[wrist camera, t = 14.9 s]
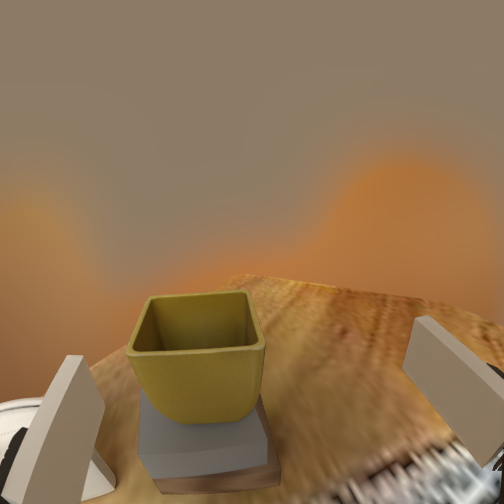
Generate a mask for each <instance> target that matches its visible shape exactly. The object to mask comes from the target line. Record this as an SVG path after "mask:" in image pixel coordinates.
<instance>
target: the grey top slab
mask: <svg viewBox="0 0 504 504" xmlns="http://www.w3.org/2000/svg"><path fill="white" fill-rule="evenodd" d="M267 446H268V439H267V437H266V434H265V432H264V429H263V427H262V424H261V421H260V419H259V416H258V414H257V411H256V408H255V406H254V408H253V409H252V411H251V412H250V413H249V414H248V415H247V416H246V417H244V418H243V419H241V420H240V421H237V422H227V423H210V424H190V425H184V424H180V423H178V422H175V421H173V420H171V419H169V418H167V417H166V416H164V415H163V414H161V413H160V412H159V411H158V410H157V409H156V408H155V407H154V406H153V405H152V403H151V402H150V401H149V399H148V397H147V396H146V394H145V392H144V390H143V388H142V386H141V399H140V417H139V445H138V456H139V457H140V459H141V461H142V463H143V465H144V466H145V468H146V470H147V471H148V473H149V475H150V476H151V478H152V479H161V478H178V477H190V476H200V475H208V474H216V473H223V472H229V471H235V470H241V469H246V468H252V467H256V466H261V465H266V464H267Z"/></svg>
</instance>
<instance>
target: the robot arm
mask: <svg viewBox="0 0 504 504" xmlns="http://www.w3.org/2000/svg"><path fill="white" fill-rule="evenodd" d="M402 370H403V371H404V372H405V373H406V375H407V376H408V377H409V378H410V379H411V381H412V382H413V383H414V384H415V385H416V387H417V388H418V389H419V390H420V391H421V393H422V394H423V395H424V396H425V397H426V399H427V400H428V401H429V402H430V403H431V405H432V406H433V407H434V408H435V410H436V411H437V412H438V413H439V415H440V416H441V417H442V418H443V419H444V421H445V422H446V423H447V424H448V426H449V427H450V428H451V429H452V431H453V432H454V433H455V434H456V436H457V437H458V438H459V440H460V441H461V442H462V443H463V445H464V446H465V447H466V448H467V450H468V451H469V452H470V454H471V455H472V456H473V458H474V459H475V460H476V461H477V463H478V464H479V465H480V467H481V468H483V467H484V466H486V465H487V464H488V463H490V462H491V461H492V460H494V459H495V458H496V457H497V455H498V454H499V453H500V452H501V450H502V449H504V373H503V372H502V371H501V370H499V369H498V368H497V367H495V366H493V365H490V364H488V363H485V362H483V361H482V360H481V359H480V358H479V357H478V356H477V355H475V354H474V353H473V352H472V351H471V350H470V349H468V348H467V347H466V346H465V345H464V344H463V343H461V342H460V341H459V340H458V339H457V338H455V337H454V336H453V335H452V334H451V333H450V332H448V331H447V330H446V329H445V328H443V327H442V326H441V325H440V324H439V323H437V322H436V321H435V320H434V319H432V318H431V317H430V316H429V315H425V316H421V317H417V318H415V319H414V324H413V328H412V332H411V336H410V340H409V344H408V348H407V352H406V355H405V359H404V362H403V366H402ZM105 408H106V406H105V404H104V402H103V399H102V397H101V395H100V393H99V391H98V389H97V386H96V384H95V382H94V380H93V377H92V375H91V372H90V370H89V368H88V365H87V363H86V360H85V358H84V356H75V355H74V356H72V355H67V357H66V359H65V360H64V362H63V364H62V365H61V367H60V369H59V371H58V372H57V374H56V376H55V378H54V380H53V382H52V383H51V385H50V387H49V389H48V391H47V393H46V394H45V396H44V398H43V400H42V402H41V404H40V406H39V408H38V410H37V412H36V414H35V416H34V418H33V420H32V422H31V424H30V426H29V428H25V427H22V428H21V429H20V430H19V431H18V432H17V433H16V434H15V435H14V436H13V437H12V439H11V441H10V444H9V446H8V450H6V452H5V454H4V458H3V459H2V461H1V464H0V504H81V499H82V494H83V490H84V485H85V481H86V477H87V473H88V469H89V465H90V461H91V457H92V453H93V449H94V445H95V442H96V438H97V435H98V431H99V428H100V424H101V421H102V418H103V414H104V411H105ZM501 463H502V465H501V466H500V467H499V469H498V471H502V478H501V491H500V501H499V504H504V454H503V455H502V456H501V457H500V459H499V460H498V461H497V462H496V464H495V465H494V467H493V470H492V471H495V470H496V469H497V468H498V466H499V465H500V464H501Z"/></svg>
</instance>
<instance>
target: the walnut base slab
mask: <svg viewBox="0 0 504 504" xmlns="http://www.w3.org/2000/svg"><path fill="white" fill-rule="evenodd" d="M255 408H256V411H257V414H258V416H259V419H260V421H261V424H262V427H263V429H264V432H265V434H266V437H267V439H268V446H267V464H266V465H261V466H256V467H252V468H246V469H241V470H235V471H229V472H223V473H216V474H208V475H200V476H190V477H178V478H161V479H152V480H153V481H154V483H155V484H156V486H157V488H158V489H159V491H160V492H161V494H211V493H226V492H237V491H246V490H254V489H261V488H268V487H274V486H280V476H281V468H280V464H279V461H278V457H277V454H276V450H275V446H274V443H273V439H272V436H271V432H270V428H269V425H268V421H267V417H266V414H265V410H264V406H263V402H262V399H261V395H260V393H259V397H258V400H257V403H256V405H255Z"/></svg>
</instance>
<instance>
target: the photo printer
mask: <svg viewBox="0 0 504 504" xmlns="http://www.w3.org/2000/svg"><path fill="white" fill-rule="evenodd" d="M43 398H44V397H37V398H25V399H18V400H12V401H8V402H4V403H1V404H0V464H1V461H2V459H3V458H4V454H5V452H6V450H8V446H9V444H10V441H11V439H12V437H13V436H14V435H15V434H16V433H17V432H18V431H19V430H20V429H21V428H22V427H25V428H29V426H30V424H31V422H32V420H33V418H34V416H35V414H36V412H37V410H38V408H39V406H40V404H41V402H42V400H43ZM115 485H116V478H115V475H114V474H113V472H112V471H111V469H110V468H109V467H108V465H107V464H106V463H105V461H104V460H103V458H102V457H101V456H100V454H99V453H98V451H97V450H96V448H95V447H94V449H93V453H92V457H91V461H90V465H89V469H88V473H87V477H86V481H85V485H84V490H83V494H82V499H81V501H83V500H87V499H91V498H95V497H98V496H101V495H105V494H107V493H110V492H112V491H114V490H115Z"/></svg>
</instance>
